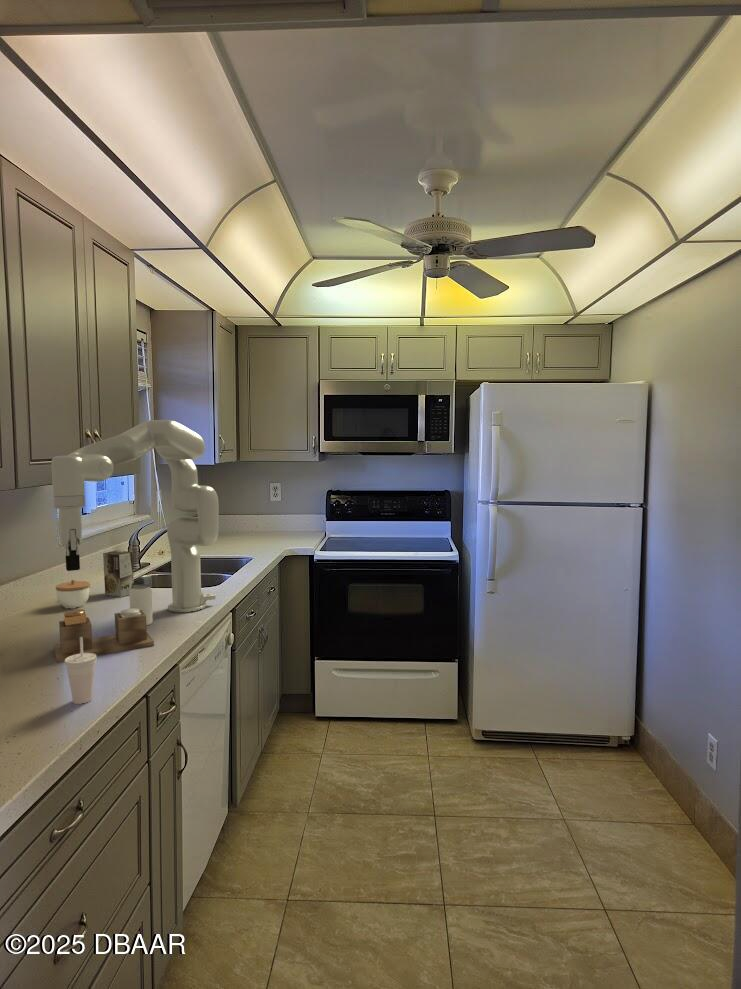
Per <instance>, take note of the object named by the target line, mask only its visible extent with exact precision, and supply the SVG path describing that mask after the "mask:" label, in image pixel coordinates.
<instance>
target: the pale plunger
mask: <svg viewBox="0 0 741 989" xmlns="http://www.w3.org/2000/svg"><path fill="white" fill-rule="evenodd" d="M118 613H119V616H120V617H121V618H128V617H134V616H141V613H140V611H139V609H130V608H126V609H122V610H120V611H118Z"/></svg>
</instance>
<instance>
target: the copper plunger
mask: <svg viewBox="0 0 741 989" xmlns="http://www.w3.org/2000/svg"><path fill="white" fill-rule="evenodd" d="M86 617H87V614H86V610H85V609H82V608H81V609H80V608H78V609H77V608H74V609H70V610H66V611H65V612H63V621H64V627H67V626H73V625H80V624H86Z"/></svg>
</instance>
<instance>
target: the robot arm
mask: <svg viewBox="0 0 741 989" xmlns="http://www.w3.org/2000/svg"><path fill="white" fill-rule="evenodd" d="M154 449H155V451H156V452H157V454H158V455H159V456H160V457H161V458H162V459H163V460H164V462H166V464H167V465H168V468H169V469H170V474H171V475H170V476H171V505H172V506H171V507H172V508H173V509H174V511H176V512H178V513H186V514H197V517H195V516H177V517H174V518H172V519H171V520H170V521H169V523H168V524H167V527H166V528H167V529H166V534H167V538H168V543H169V547H170V557H171V558H170V560H171V561H170V562H171V568H170V569H171V590H172V591H171V592H172V594H171V595H172V597H171V598H172V602H171V603H170V604H168V605H167V610H168V611H170V612H173V613H190V612H191V611H193V612H197V610H198V611H200V609H201V610H203V609H205V608H206V607H207V601H212V600H216V594H215V593H213V594H212V593H211V594H210V593H205V594H204V593H203V592H202V578H201V576H202V575H201V574H202V573H201V568H202V567H201V555H200V551H199V549H198V547H197V546H199V547H200V546H201V547H208V546H209V547H210V546H212V545H214V544H215V542H217V540H218V537H219V531H220V530H219V529H220V528H219V526H220V525H219V523H220V521H219V519H220V517H219V515H220V514H219V512H220V510H219V509H220V507H219V496H218V494H217V492H216V490H215V489H214V488H213V487H211V486H209V485H199V479H198V477H199V476H198V468H197V466H196V464H195V463H194V461H193V460H198V459H200V458H201V457H202V456H203V455H204V453H205V451H206V444H205V441H204V439H203V437H202V436H201V435H200V434H198V433H197V432H195V431H194V430H192V429H190V428H189V427H187V426H185V425H183V424H182V423H180V422H178V421H175V420H171V419H154V420H153V419H151V420H145V421H142V422H141V423H139V424H137V425H135V426H133V427H131V428H130V429H127V430H126V431H124V432H122V433H120V434H118V435H115V436H112V437H108V438H105V439H104V440H103V439H102V440H99V441H96V442H93V443H90V444H87V445H85V446H83V447H81V448H79V449H76V450H75V451H72V452H71V453H69V454H68V455H57V456H54V457H52V459H51V479H52V480H51V481H52V500H53V509H56V510H58V512H57V524H58V542H59V545H60V546H61V547H65V569H66V571H67V572H73V571H79V570H81V562H80V561H81V560H80V554H79V546H80V545H81V544H82V542H83V540H82V539H83V536H82V533H83V530H82V529H83V528H82V526H83V525H82V508H86V493H85V482H103V481H106V480H108V479H110V478H111V476H112V475H113V473H114V468H115V467H114V465H119V464H124V463H125V464H126V463H130V462H132V461H136V460H137V459H139V458H140V457H141V456H143V455H145V454H147V453H148V452H151V451H153V450H154ZM191 613H192V612H191Z"/></svg>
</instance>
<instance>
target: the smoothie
mask: <svg viewBox="0 0 741 989" xmlns="http://www.w3.org/2000/svg"><path fill="white" fill-rule="evenodd" d="M97 661H98V658H97V656H96V655H95V654H93V653H83V637H80V654H75V655H72V656H69V657H67V658H66V659H65V661H64V667H66V673H67V677H68V682H69V687H70V694H71V697H72V704H75V705H83V704H82V703H85V704H87V703H86V702H88V703H90V702H91V701H92V700H93V694H94V692H93V691H94V680H95V679H94V678H95V670H96V669H95V668H96V662H97ZM91 699H92V700H91ZM90 700H91V701H90ZM89 701H90V702H89Z"/></svg>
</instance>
